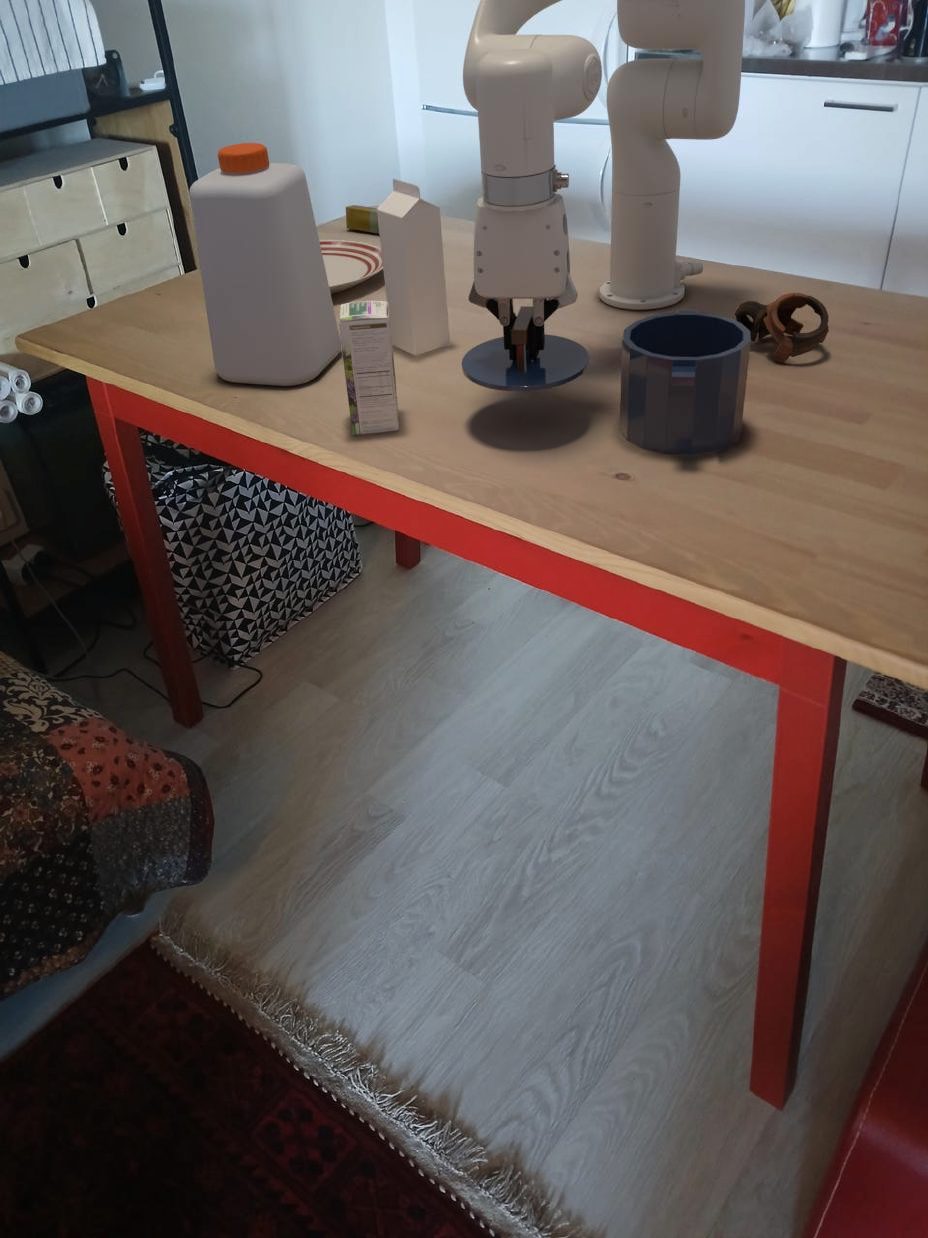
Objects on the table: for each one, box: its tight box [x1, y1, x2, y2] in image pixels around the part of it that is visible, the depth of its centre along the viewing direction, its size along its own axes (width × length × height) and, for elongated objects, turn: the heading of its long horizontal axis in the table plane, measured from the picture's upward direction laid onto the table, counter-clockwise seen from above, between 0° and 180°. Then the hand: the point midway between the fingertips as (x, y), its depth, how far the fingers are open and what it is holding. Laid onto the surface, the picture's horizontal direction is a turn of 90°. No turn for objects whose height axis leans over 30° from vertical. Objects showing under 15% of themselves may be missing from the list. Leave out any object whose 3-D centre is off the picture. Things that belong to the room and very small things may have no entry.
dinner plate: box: [319, 239, 383, 295], centre depth 168 cm, size 27×27×3 cm
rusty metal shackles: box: [734, 292, 830, 364], centre depth 133 cm, size 12×10×8 cm
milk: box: [376, 178, 451, 357], centre depth 137 cm, size 6×6×22 cm
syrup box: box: [338, 300, 400, 436], centre depth 120 cm, size 6×6×14 cm
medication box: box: [345, 204, 380, 235], centre depth 188 cm, size 12×3×4 cm, turn 56°
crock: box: [619, 309, 752, 456], centre depth 115 cm, size 14×19×12 cm
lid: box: [461, 305, 590, 393], centre depth 116 cm, size 15×15×6 cm
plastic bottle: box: [189, 142, 342, 387], centre depth 133 cm, size 15×15×28 cm
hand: (524, 354), depth 117 cm, fingers closed on lid
